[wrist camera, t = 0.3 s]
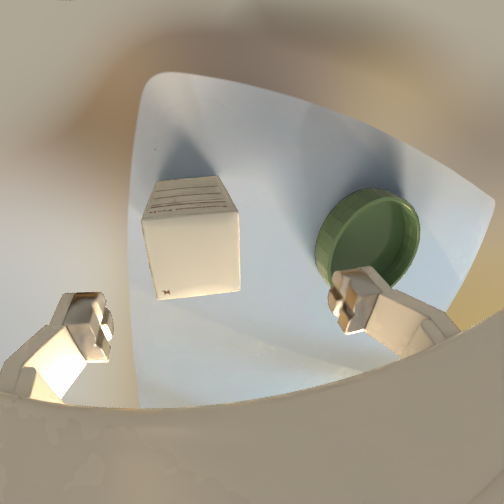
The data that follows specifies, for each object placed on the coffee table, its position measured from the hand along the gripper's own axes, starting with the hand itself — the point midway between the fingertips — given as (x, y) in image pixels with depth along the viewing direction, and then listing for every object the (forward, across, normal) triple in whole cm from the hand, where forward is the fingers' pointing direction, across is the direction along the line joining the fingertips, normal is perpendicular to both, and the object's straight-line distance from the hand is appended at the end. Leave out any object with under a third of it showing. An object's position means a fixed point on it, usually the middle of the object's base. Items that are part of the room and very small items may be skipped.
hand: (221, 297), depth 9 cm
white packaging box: (+23, +1, +6) cm, 24 cm away
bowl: (+23, -24, +13) cm, 36 cm away
